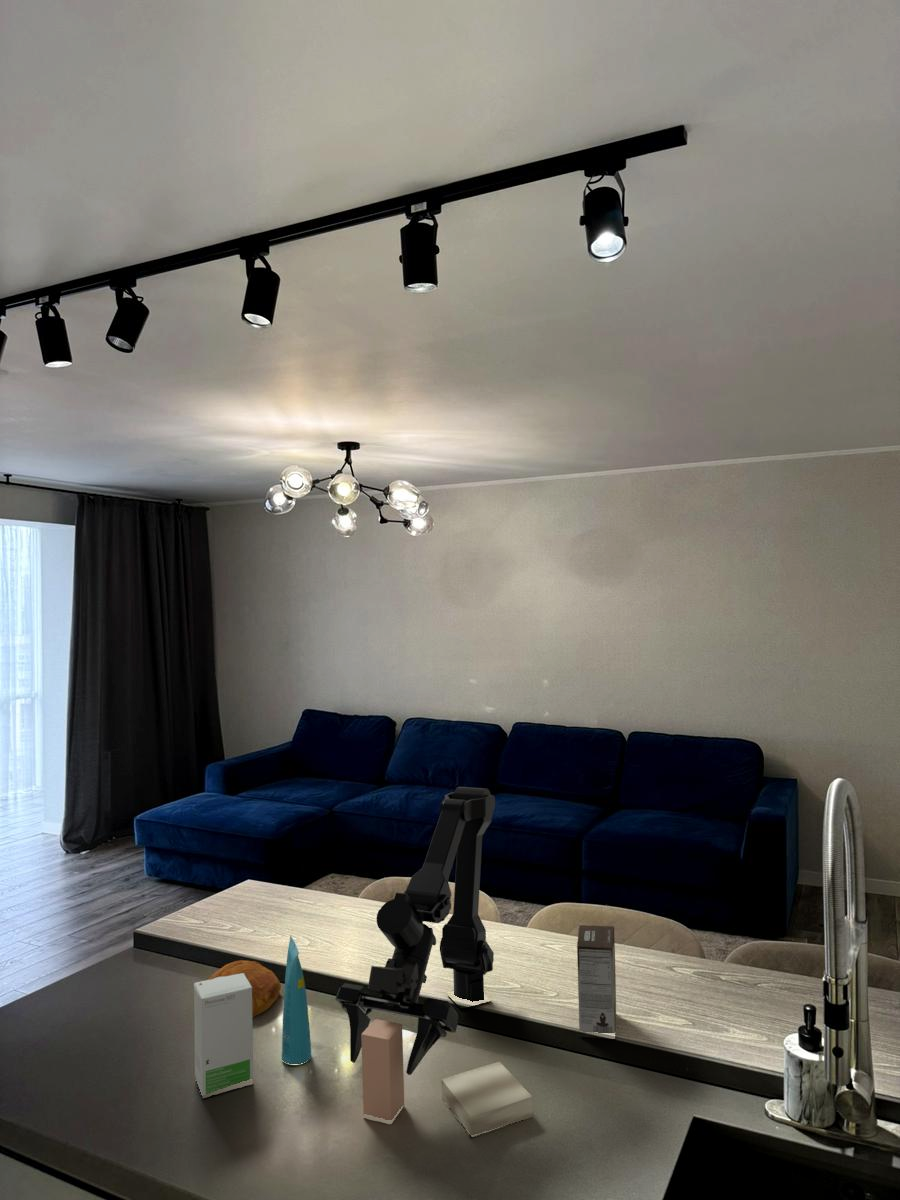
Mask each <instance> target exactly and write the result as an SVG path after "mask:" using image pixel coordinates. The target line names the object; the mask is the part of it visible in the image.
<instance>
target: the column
mask: <svg viewBox="0 0 900 1200" xmlns="http://www.w3.org/2000/svg"><path fill="white" fill-rule="evenodd" d="M403 1040H404V1038H403V1024H402V1023H398V1022H393V1021H388V1020H383V1019H378V1018H375V1019H374V1020H373V1021H372V1022H370V1023H369V1026H368V1027H367V1029H366V1030H365V1031H364V1032H363V1033H362V1034H361V1041H362V1047H361V1069H362V1070H361V1071H362V1073H361V1074H362V1077H361V1078H362V1105H363V1109H362V1111H363V1115H364V1114H367V1115H372V1116H374V1117H378V1118H383V1119H385V1120H392V1119H393V1118H394V1116H395V1115H396V1114H397V1112H398V1111H399V1109H401V1107H402V1106H403V1105H404V1106H405V1086H404V1085H405V1083H404V1082H405V1079H404V1078H405V1076H404V1075H405V1074H404V1049H403V1048H404V1046H403V1045H404V1044H403V1043H404V1041H403Z"/></svg>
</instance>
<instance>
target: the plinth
mask: <svg viewBox="0 0 900 1200" xmlns="http://www.w3.org/2000/svg"><path fill="white" fill-rule="evenodd" d="M442 1098H443V1099H442ZM441 1099H442V1101H443V1100H444V1101H445V1102H446V1103H447V1105H448V1106H449V1107H450V1108H451V1110H452V1111H453V1112H454V1114H455V1115H456V1117H457V1118H458V1119H459V1120H460V1122H461V1123H462V1124H463V1125H464V1126H465V1128H466V1129H467V1130H468V1132H469V1133H470V1134H471V1135H475V1134H479V1133H482V1132H484V1131H489V1130H492V1129H495V1128H498V1127H501V1126H504V1125H507V1124H511V1125H513V1124H512V1123H514V1124H516V1123H515V1122H517V1123H520V1122H522V1121H521V1120H523V1121H525V1120H528V1119H531V1118H533V1096H532V1094H530V1093H529V1091H527V1090H526V1088H524V1086H523V1085H522V1084H521V1083H520V1082H519V1081H518V1080H517V1078H516V1077H514V1075H513V1074H511V1072H510V1071H509V1070H508V1068H507V1067H505V1066H504V1064H502V1063H501V1061H497V1062H493V1063H489V1064H486V1065H483V1066H480V1067H477V1068H474V1069H470V1070H466V1071H464V1072H460V1073H457V1074H455V1075H451V1076H447V1077H445V1078H441ZM444 1101H443V1102H444ZM445 1102H444V1103H445ZM446 1103H445V1104H446ZM447 1105H446V1106H447ZM448 1106H447V1107H448ZM449 1107H448V1108H449ZM451 1110H450V1111H451ZM452 1111H451V1112H452ZM454 1114H453V1115H454ZM455 1115H454V1116H455ZM456 1117H455V1118H456ZM457 1118H456V1119H457ZM458 1119H457V1120H458ZM519 1121H520V1122H519ZM460 1122H459V1123H460ZM461 1123H460V1124H461Z"/></svg>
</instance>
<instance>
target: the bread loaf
mask: <svg viewBox="0 0 900 1200" xmlns="http://www.w3.org/2000/svg"><path fill="white" fill-rule="evenodd" d="M241 973H244V975H245V976H246V978H247V980H248V981H249V983H250V985H251V987H252V1019H253V1018H255V1017H256V1016H259V1015H260V1014H262V1013H264V1012H265V1011H267V1010H268V1009H270V1008H271V1007H272V1006H273V1004H274V1003H275V1001H277V999H278V997H279V996H280V993H281V992H280V991H281V989H282V987H281V982H280V980H279V978H278V977H277V976H276V974H275V973H274V972H273V971H272V970H271V969H268V968H267V967H265V966H263V965H262V964H260V962H258V961H255V960H254V961H251V960H244V959H240V960H235V961H233V962H229V963H227V964H225V965H224V966H222V967H221V968H219V969H217V971H214V972H213V974H212V975H210V976H209V977H208V978H207V979H206V980H211V979H214V978H217V977H226V976H231V975H236V974H241Z"/></svg>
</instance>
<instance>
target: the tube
mask: <svg viewBox="0 0 900 1200" xmlns="http://www.w3.org/2000/svg"><path fill="white" fill-rule="evenodd" d="M299 954H300V951H299V949H298V946H297V944H296V942H295V940H294V938H293V936H292V934H290V936H289V943H288V948H287V955H286V956H287V957H286V966H285V967H286V968H285V979H284V989H283V990H284V992H283V993H284V994H283V1007H282V1030H281V1031H282V1032H281V1035H282V1036H281V1037H282V1038H281V1061H282V1060H283V1061H284V1062H286V1063H289V1064H301V1063H304V1062H306V1061H307V1060H309V1059H310V1060H311V1058H312V1043H311V1029H310V1017H309V1008H308V999H307V989H306V984H305V977H304V973H303V967H302V965H301V962H300V957H299ZM310 1060H309V1061H310ZM306 1063H307V1062H306Z"/></svg>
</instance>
